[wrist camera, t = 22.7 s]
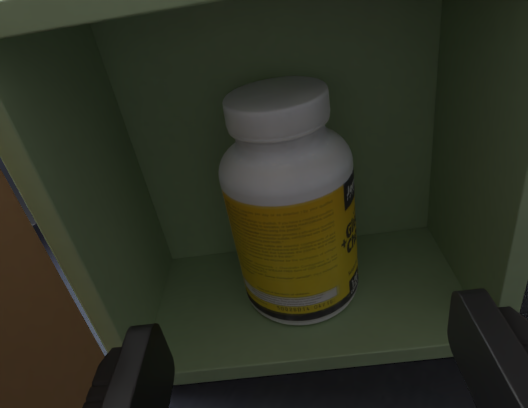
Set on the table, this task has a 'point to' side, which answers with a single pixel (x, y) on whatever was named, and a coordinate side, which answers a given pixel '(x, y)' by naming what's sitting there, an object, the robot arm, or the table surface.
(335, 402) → the table surface
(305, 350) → the cabinet
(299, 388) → the table surface
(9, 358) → the cabinet door
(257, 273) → the pill bottle
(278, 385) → the table surface
